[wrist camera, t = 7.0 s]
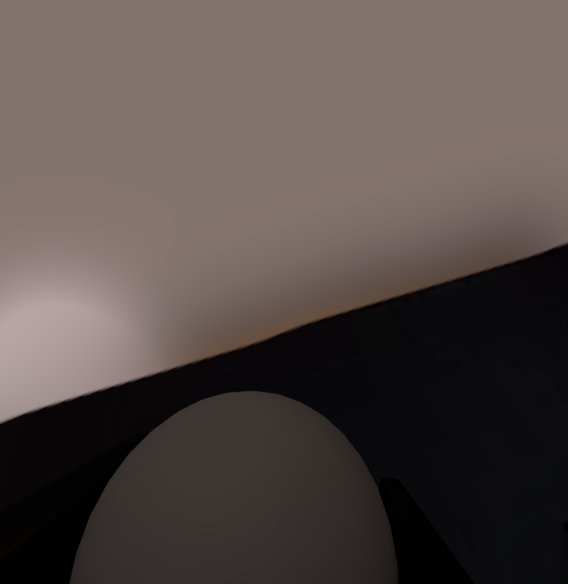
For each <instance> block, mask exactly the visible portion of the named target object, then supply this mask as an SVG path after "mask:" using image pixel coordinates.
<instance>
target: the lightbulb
mask: <svg viewBox="0 0 568 584" xmlns="http://www.w3.org/2000/svg"><path fill="white" fill-rule="evenodd" d="M69 584H399V574H398V564H397V558H396V553H395V547H394V542H393V537H392V531H391V526H390V523H389V520H388V517H387V514H386V511H385V508H384V505H383V502H382V500H381V497H380V494H379V491H378V488H377V486H376V484H375V482H374V480H373V478H372V476H371V474H370V473H369V471H368V469H367V467H366V465H365V463H364V461H363V459H362V458H361V456H360V455H359V454H358V453H357V451H356V450H355V449H354V447H353V446H352V445H351V443H350V442H349V441H348V440H347V438H346V437H345V436H344V434H343V433H341V432H340V431H339V430H338V429H337V428H336V427H335V426H334V425H333V424H332V423H330V422H329V421H328V420H327V419H326V418H325V417H324V416H322V415H321V414H319V413H318V412H316V411H314V410H313V409H311V408H309V407H308V406H306V405H304V404H303V403H301V402H298V401H295V400H292V399H290V398H287V397H284V396H281V395H279V394H271V393H264V392H257V391H249V392H234V393H225V394H221V395H218V396H214V397H210V398H207V399H203V400H201V401H199V402H197V403H195V404H193V405H191V406H189V407H187V408H185V409H183V410H181V411H179V412H177V413H176V414H175V415H173V416H172V417H170V418H169V419H168V420H166V421H165V422H164V423H162V424H161V425H159V426H158V427H157V428H155V429H154V430H153V431H152V432H150V433H149V434H148V435H147V436H146V437H145V438H144V439H143V440H142V441H141V442H140V443H139V444H138V446H137V447H136V448H135V449H134V450H133V451H132V452H131V453H130V454H129V455H128V456H127V457H126V459H125V460H124V461H123V463H122V464H121V465H120V467H119V468H118V469H117V471H116V472H115V474H114V475H113V476H112V478H111V479H110V480H109V482H108V483H107V485H106V487H105V489H104V491H103V493H102V495H101V496H100V498H99V500H98V502H97V504H96V506H95V508H94V509H93V511H92V513H91V515H90V518H89V520H88V523H87V526H86V528H85V531H84V534H83V536H82V539H81V542H80V544H79V547H78V550H77V552H76V557H75V561H74V565H73V570H72V574H71V579H70V583H69Z"/></svg>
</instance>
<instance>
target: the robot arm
mask: <svg viewBox="0 0 568 584" xmlns="http://www.w3.org/2000/svg"><path fill="white" fill-rule="evenodd" d="M147 435H148V434H145V433H137V434H135V435H133V436H132V437H130V438H128V439H126V440H125V441H123V442H121V443H119V444H118V445H116V446H114V447H112V448H111V449H109V450H107V451H105V452H104V453H102V454H100V455H98V456H96V457H95V458H93V459H91V460H89V461H88V462H86V463H84V464H82V465H81V466H79V467H77V468H75V469H74V470H72V471H70V472H68V473H67V474H65V475H63V476H61V477H59V478H58V479H56V480H54V481H52V482H51V483H49V484H47V485H45V486H44V487H42V488H40V489H38V490H37V491H35V492H33V493H31V494H29V495H28V496H26V497H24V498H22V499H21V500H19V501H17V502H15V503H14V504H12V505H10V506H8V507H7V508H5V509H3V510H1V511H0V584H69V583H70V579H71V574H72V570H73V565H74V561H75V557H76V552H77V550H78V547H79V544H80V542H81V539H82V536H83V534H84V531H85V528H86V526H87V523H88V520H89V518H90V515H91V513H92V511H93V509H94V508H95V506H96V504H97V502H98V500H99V498H100V496H101V495H102V493H103V491H104V489H105V487H106V485H107V483H108V482H109V480H110V479H111V478H112V476H113V475H114V474H115V472H116V471H117V469H118V468H119V467H120V465H121V464H122V463H123V461H124V460H125V459H126V457H127V456H128V455H129V454H130V453H131V452H132V451H133V450H134V449H135V448H136V447H137V446H138V444H139V443H140V442H141V441H142V440H143V439H144V438H145V437H146V436H147ZM379 494H380V497H381V500H382V502H383V505H384V508H385V511H386V514H387V517H388V520H389V523H390V526H391V531H392V537H393V542H394V547H395V553H396V558H397V564H398V574H399V584H474V583H473V581H472V580H471V579H470V577H469V576H468V575H467V573H466V572H465V570H464V569H463V568H462V566H461V565H460V563H459V562H458V561H457V559H456V558H455V557H454V555H453V554H452V552H451V551H450V550H449V548H448V547H447V545H446V544H445V543H444V541H443V540H442V539H441V537H440V536H439V534H438V533H437V532H436V530H435V529H434V527H433V526H432V525H431V523H430V522H429V521H428V519H427V518H426V516H425V515H424V514H423V512H422V511H421V510H420V508H419V507H418V505H417V504H416V503H415V501H414V500H413V498H412V497H411V496H410V494H409V493H408V492H407V490H406V489H405V487H404V486H403V485H402V483H401V482H400V481H399V480H396V479H391V478H385V477H384V478H382V479H381V482H380V487H379Z"/></svg>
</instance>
